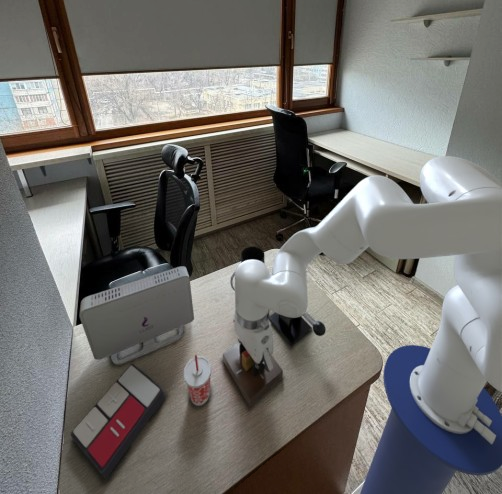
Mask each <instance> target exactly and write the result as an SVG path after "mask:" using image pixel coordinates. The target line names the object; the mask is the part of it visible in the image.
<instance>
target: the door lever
mask: <svg viewBox="0 0 502 494" xmlns="http://www.w3.org/2000/svg"><path fill="white" fill-rule="evenodd" d="M302 318H303V319H304V320H305V321H306V322H307V323H308V324H309V325H310V326H312V331H313V333H314V334H315V335H316V336H318V337H322V336H324V335H325V334H326V325H325V324H324V322H322V321H320V320H317V321H316V320H315V318H313V317H312V316H311V314H309V313H308V312H307V311H306V312H305V313H304V314H303V315H302Z"/></svg>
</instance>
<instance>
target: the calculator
mask: <svg viewBox="0 0 502 494" xmlns="http://www.w3.org/2000/svg"><path fill="white" fill-rule="evenodd" d="M165 399H166V395H165V392H164V389H163V388H162V387H161V386H160V385H159V384H158V383H156V382H155V381H154V380H153V379H152V378H151V377H149V376H148V375H147V374H146V373H144V371H142V370H141V369H140V368H138V366H137V365H135V364H134V363H130V365H129V366H128V367H127V368H126V369H125V370H124V371H123V373H121V375H120V376H119V377H118V378H117V379H116V380H115V382H114V383H113V384H112V385H111V386H110V387H109V388H108V390H107V391H105V393H104V394H103V395H102V397H101V398H100V399H99V400H98V401H97V402H96V404H94V406H93V407H91V409H90V410H89V412H87V414H86V415H85V416H84V418H82V419H81V420H80V421H79V423H78V424H77V425H76V426H75V428H74V429H73V430H72V431H71V432H70V437H71V438H72V441H74V443H75V444H76V445H77V446H78V448H79V449H80V450H81V452H83V454H84V455H85V456H86V458H87V459H88V460H89V461H90V463H91V464H92V465H93V466H94V467H95V469H96V470H97V471H98V472H99V473H100V475H101V476H102V477H103V478H104V479H108V478H109V476H110V475H111V473H113V471H114V469H115V468H116V466H117V465H118V464H119V462H120V461H121V459H122V458H123V456H124V455H125V453H126V452H127V451H128V449H129V448H130V446H131V445H132V444H133V442H134V441H135V440H136V439H137V437H138V435H139V434H140V432H141V431H142V430H143V428H144V427H145V425H146V424H147V423H148V421H149V419H151V418H152V417H153V416H154V415H155V413H156V412H157V410H159V408H160V406H161V405H162V403H163V402H164V400H165Z"/></svg>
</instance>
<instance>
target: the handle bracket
mask: <svg viewBox="0 0 502 494" xmlns="http://www.w3.org/2000/svg"><path fill="white" fill-rule="evenodd" d="M269 321H270V323H271V325H272V326H273V328H275V329H276V331H278V333H279V334H280V335H281V336H282V338H283V339H284V340H285V341H286V342H287V343H288V345H289V347H291V348H293V346H294V345H296V344H297V343H298V342H299V341H301V340H302V339H303V338H304V337H305V336H306V335H308V334H310V332H312V330H313V326H312V325H311V324H310V323H309V322H308V321H307V320H306V319H305V318H304V317H303V316H300V317H297V318H290V317H286V316H283V315H280V314H278V313H275V312H273V313H271V314H269ZM311 326H312V327H311Z"/></svg>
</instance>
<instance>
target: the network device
mask: <svg viewBox="0 0 502 494" xmlns="http://www.w3.org/2000/svg"><path fill="white" fill-rule="evenodd" d="M193 305H194V303H193V295H192V287H191V278H190V275H189V272H188V270H187V267H186V266H184V265H183V266H177V267H174V268H171V269H169V270H168V269H167V270H165V271H162V272H159V273H156V274H153V275H149V276H146V277H143V278H140V279H138V280H134V281H130V282H128V283H125V284H122V285H119V286H115V287H113V288H109V289H106V290H103V291H100V292H97V293H94V294H90V295H88V296H85V297H83V299H82V300H81V301H80V307H79V320H80V322H81V325H82V329H83V331H84V334H85V336H86V339H87V343H88V345H89V347H90V351H91V353H92V356H93V358H94V360H96V361H100V360H103V359H106V358H108V357H110V358H111V361H112V363H113V364H114V365H117V366H119V365H121V366H122V365H124V364H126V363H129V362H131V361H134V360H136V359H138V358H140V357H143V356H144V355H147V354H149V353H153V352H154V351H156V350H158V349H159V350H160V349H161V348H163V347H166V346H168V345H171V344H173V343H175V342H177V341H179V339H181V337H182V336H183V334H184V327H183V326H185V325H189V324H190V323H192V322H193V321H194V319H195V314H194V306H193ZM176 329H178V333H177V335H175V336H173V337H170V338H168V339H166V340H164V341H161V342H156V340H155V338H157V337H159V336H161V335H164V334H166V333H169V332H171V331H173V330H176ZM140 344H142V345H143V347H142V349H141V350H140V351H137V352H135V353H133V354H131V355H129V356H126V357H123V358H121V359H118V353H121V352H123V351H125V350H127V349H130V348H133V347H135V346H138V345H140Z"/></svg>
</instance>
